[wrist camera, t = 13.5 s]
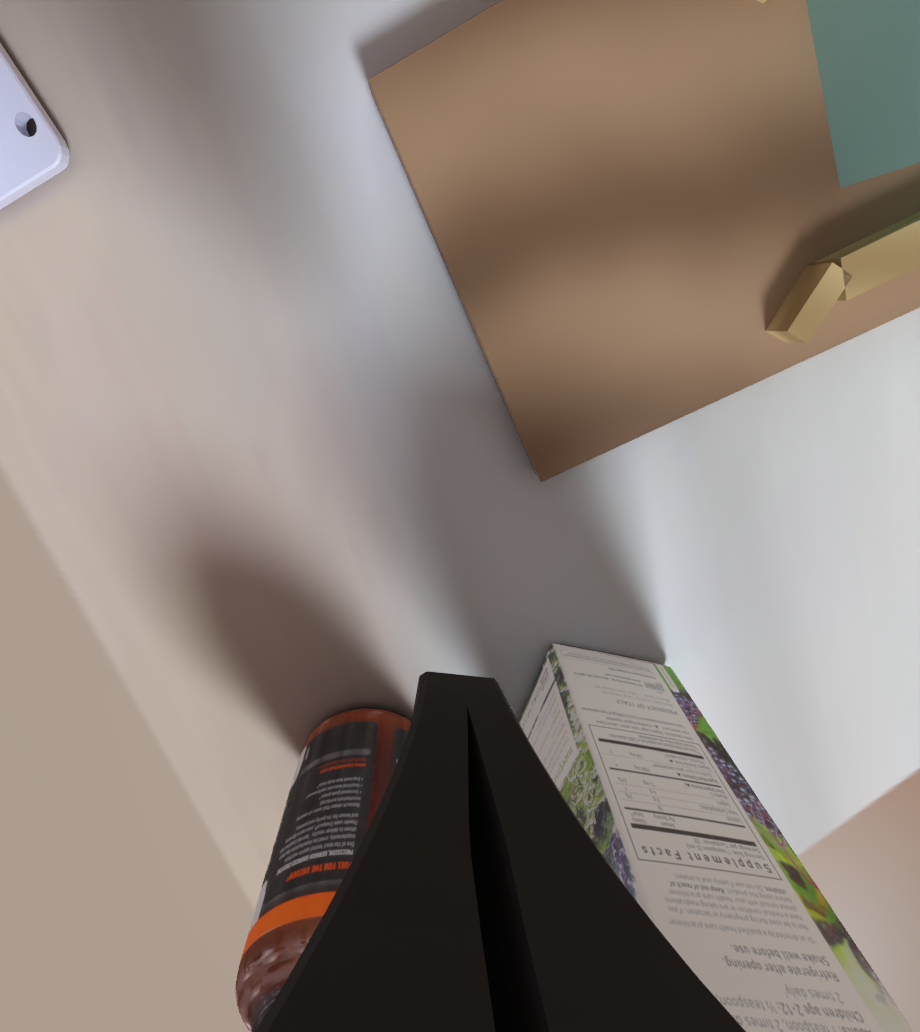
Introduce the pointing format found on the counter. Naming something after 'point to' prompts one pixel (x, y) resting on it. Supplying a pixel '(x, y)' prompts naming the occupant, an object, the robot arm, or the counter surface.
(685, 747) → the syrup box
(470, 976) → the robot arm
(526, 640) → the counter surface
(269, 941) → the supplement bottle
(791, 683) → the counter surface
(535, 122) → the slide board
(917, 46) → the teal block
